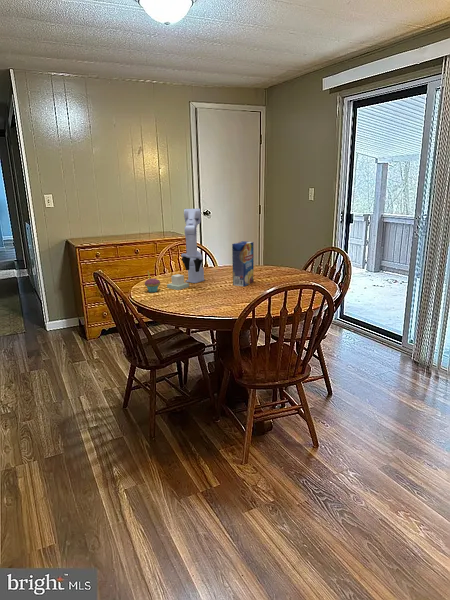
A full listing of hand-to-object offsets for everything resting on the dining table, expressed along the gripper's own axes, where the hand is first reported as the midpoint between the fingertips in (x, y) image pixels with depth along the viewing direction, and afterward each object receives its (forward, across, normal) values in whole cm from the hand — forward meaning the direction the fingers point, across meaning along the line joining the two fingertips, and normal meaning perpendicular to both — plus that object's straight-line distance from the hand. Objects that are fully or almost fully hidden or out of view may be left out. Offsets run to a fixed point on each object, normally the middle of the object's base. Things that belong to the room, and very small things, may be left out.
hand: (192, 270), depth 230 cm
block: (+8, -8, -4) cm, 12 cm away
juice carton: (+10, +18, +24) cm, 32 cm away
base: (+10, -8, -4) cm, 13 cm away
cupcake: (+10, -14, -18) cm, 25 cm away
